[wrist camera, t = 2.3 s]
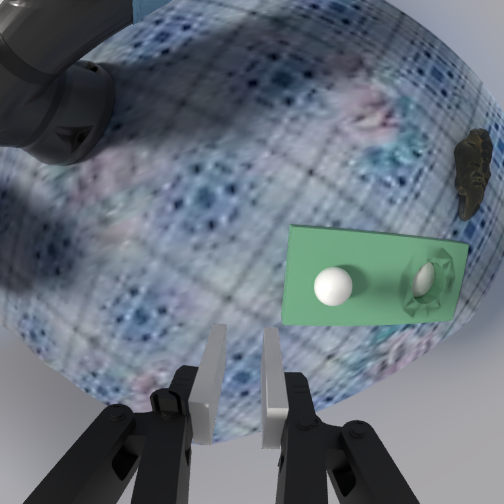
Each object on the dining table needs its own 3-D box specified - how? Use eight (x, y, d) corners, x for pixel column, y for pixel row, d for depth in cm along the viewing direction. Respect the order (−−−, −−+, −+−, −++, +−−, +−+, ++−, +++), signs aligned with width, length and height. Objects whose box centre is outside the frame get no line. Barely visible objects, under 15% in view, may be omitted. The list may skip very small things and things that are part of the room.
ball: (312, 261, 28) (321, 272, 24) (348, 263, 28) (360, 274, 24) (308, 297, 29) (315, 311, 25) (342, 298, 29) (353, 312, 25)
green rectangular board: (281, 315, 32) (282, 324, 30) (289, 224, 30) (292, 226, 28) (442, 313, 32) (451, 320, 30) (458, 241, 30) (469, 244, 27)
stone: (441, 212, 30) (465, 217, 24) (451, 122, 27) (474, 116, 21) (471, 224, 30) (494, 230, 24) (480, 140, 27) (502, 138, 22)
